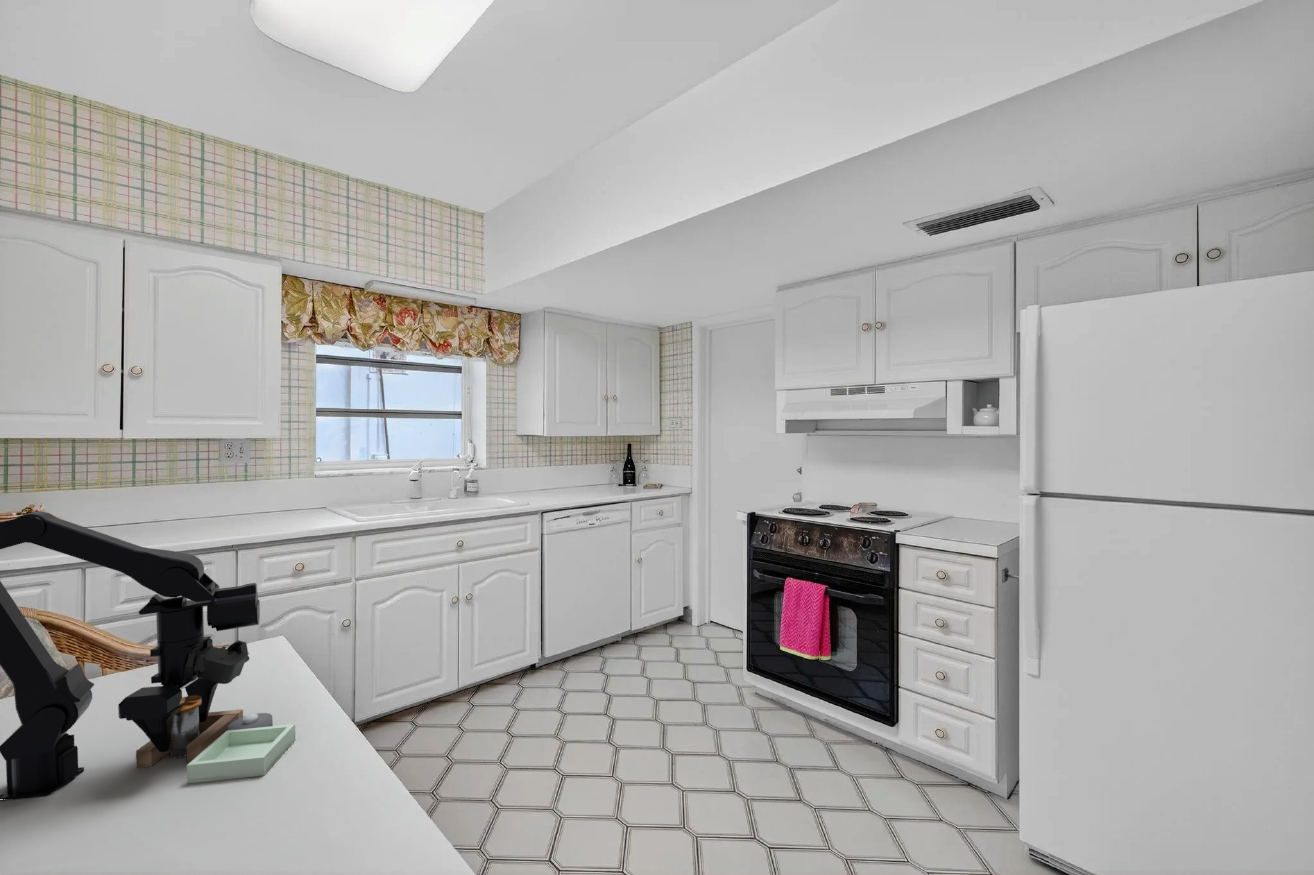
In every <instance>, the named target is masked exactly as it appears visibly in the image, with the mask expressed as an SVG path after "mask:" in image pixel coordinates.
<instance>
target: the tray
mask: <svg viewBox="0 0 1314 875" xmlns="http://www.w3.org/2000/svg"><path fill="white" fill-rule="evenodd" d="M296 738H297V737H296V723H291V724H284V725H273V726H270V727H260V728H249V729H239V730H228V731H226V732H225V733H223V734H222V735H221V736H220V737H219V738H218V739H217V740H215V741H214V742H213V743H212V744H211V745H210V746H208V747H207V748H206V749H205V750H204V751H203V752H202V753H200V754H199V755H198V756H197V757H196V758H195V759H193V760H192V761H191V762H188V764H186V778H187V779H186V780H187V781H186V784H196V783H197V784H198V783H203V782H204V783H207V782H214V781H222V780H223V781H224V780H233V779H242V778H243V779H244V778H252V777H253V778H254V777H260V776H265V775H266V774H267V773H268V771H270V769H271V768H272V767H273V766H274V765H275V764H276V763H277V762H278V760H280V758H282V756H283V755H284V754H285V753H286V752H287V750H288V749H289V748H290V747H291V746H292V745H293V744H294V743H295V741H296Z"/></svg>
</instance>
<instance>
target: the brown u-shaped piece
mask: <svg viewBox="0 0 1314 875" xmlns="http://www.w3.org/2000/svg"><path fill="white" fill-rule="evenodd" d="M242 717H244V709H243V708H242V709H230V710H221V711H219V710H218V711H211V712H210V711H209V713H208V716H207V719H206V721H205V722H201V723H199V733H201V734H199V736H198V737H197V738H196V739H195V740H193V741H192V742H191V743H190V744H188V745H187V756H186V763H190V762H191V761H192V760H193V759H195V758H196V757H197V756H198V755H199V754H200V753H202V752H203V751H204V750H205V749H206V748H207V747H208V746H210V745H211V744H212V743H213V742H214V741H215V740H217V739H218V738H219V737H220V736H221V735H222V734H223V733H225V732H226V731H228V726H229V724H230V723H232V722H233V721H235V720H237V719H239V718H242ZM135 751H136V752H135V756H136V757H135V758H136V759H135V761H136V763H135V764H136V768H145V767H152V766H154V765H155V764H156V763H157V762H159V761H160V760H161V759H163V758H164V757H165V756H166V755H167V754H168V753H169V754H170V748H169V750H168V751H167V752H159V750H158V749H157V748H156V747H155V745H154V744H153V743H152V742H151V740H150V739H149V741H148V742H146V743H145V744H143V745H142V746H141V747H140V748H138V749H137V750H135Z"/></svg>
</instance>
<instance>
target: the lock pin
mask: <svg viewBox="0 0 1314 875" xmlns="http://www.w3.org/2000/svg"><path fill="white" fill-rule="evenodd" d="M201 703H202V700H201V696H188V695H187V696H182V699H181V701H180V704H179V705H183V706H182V707H181V708H180V709H179V710H178V711H177V712H176V713H175V714H174V716H173V722H172V733H171V742H170V752H169V754H170V757H171V758H174V759H175V758H183V757H187V745H188V744H190V743H191V742H192V741H193V740H195V739H196V738H197V737H198V736H199V735H200V732H199V705H201Z"/></svg>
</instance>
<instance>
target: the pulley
mask: <svg viewBox="0 0 1314 875" xmlns="http://www.w3.org/2000/svg"><path fill="white" fill-rule="evenodd" d="M273 722H274V721H273V715H272V714H271V713H268V712H259V713H252V714H247V715H245V716H244V715H243V717H242V718H239V719H237V720H235V721H233V722H232V723H230V724H229V726H228V730H239V729H249V728H260V727H270V726H274V724H273Z"/></svg>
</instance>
